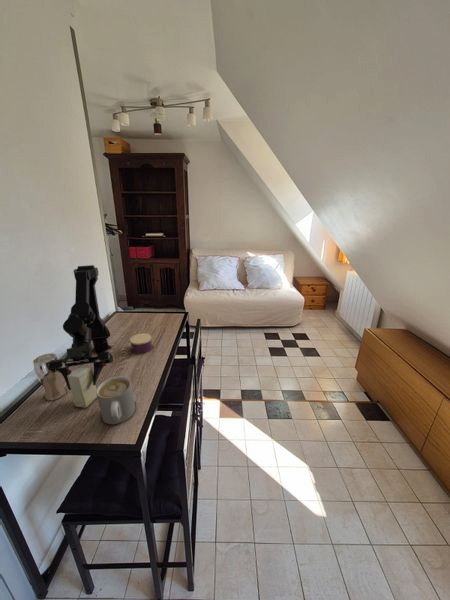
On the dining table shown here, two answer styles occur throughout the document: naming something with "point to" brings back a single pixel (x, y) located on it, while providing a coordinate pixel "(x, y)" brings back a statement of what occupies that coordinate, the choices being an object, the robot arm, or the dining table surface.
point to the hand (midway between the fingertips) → (82, 387)
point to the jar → (141, 343)
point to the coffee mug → (116, 400)
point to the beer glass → (48, 376)
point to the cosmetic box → (82, 386)
